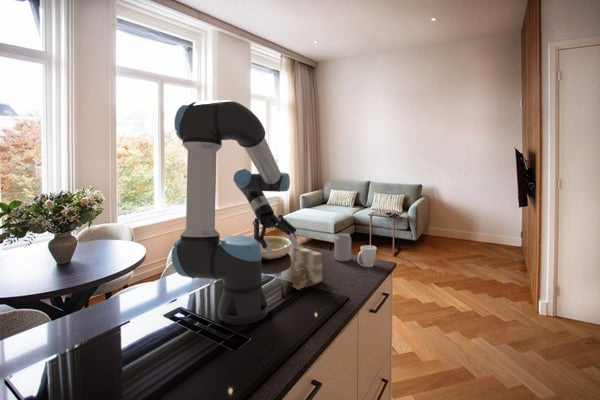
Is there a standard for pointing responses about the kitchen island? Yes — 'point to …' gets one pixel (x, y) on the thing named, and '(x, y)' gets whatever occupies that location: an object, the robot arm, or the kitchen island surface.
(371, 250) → the cup
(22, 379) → the kitchen island surface
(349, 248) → the can
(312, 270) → the cream wavy slab
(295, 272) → the oak slot board
